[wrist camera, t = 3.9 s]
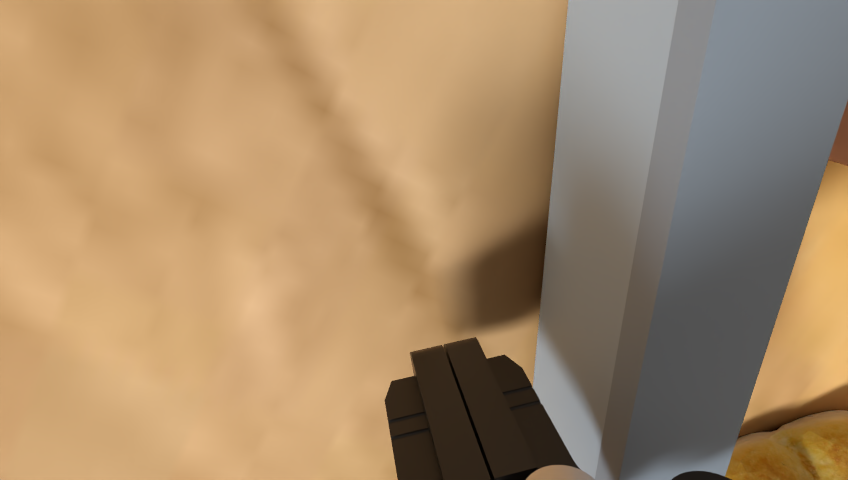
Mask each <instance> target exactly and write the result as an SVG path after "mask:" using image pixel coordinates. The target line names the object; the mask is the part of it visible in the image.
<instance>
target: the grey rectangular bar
mask: <svg viewBox="0 0 848 480" xmlns="http://www.w3.org/2000/svg"><path fill="white" fill-rule="evenodd" d="M847 101H848V0H568V11H567V22H566V33H565V43H564V54H563V65H562V76H561V87H560V98H559V109H558V120H557V130H556V141H555V152H554V163H553V174H552V185H551V196H550V206H549V217H548V228H547V239H546V250H545V261H544V272H543V283H542V293H541V304H540V315H539V326H538V337H537V348H536V359H535V369H534V380H533V389H534V390H535V392H536V394H537V396H538V397H539V399H540V403H541V404H542V405H543V406H544V408H545V410H546V412H547V414H548V415H549V417H550V419H551V421H552V423H553V424H554V426H555V428H556V430H557V432H558V433H559V435H560V437H561V439H562V441H563V442H564V444H565V446H566V448H567V449H568V451H569V453H570V455H571V457H572V458H573V460H574V462H575V463H576V465H577V466H578V467H579V468H580V469H581V470H582V471H584V472H586V473H587V474H589V475H590V476H592V477H593V478H594V479H595V480H672V479H673V478H674V477H675V476H677V475H679V474H681V473H684V472H689V471H707V472H712V473H716V474H719V475H722V476H725V475H726V472H727V469H728V466H729V462H730V459H731V456H732V453H733V450H734V447H735V444H736V441H737V438H738V435H739V432H740V429H741V426H742V423H743V420H744V416H745V413H746V410H747V407H748V404H749V401H750V398H751V395H752V392H753V389H754V386H755V383H756V380H757V377H758V374H759V371H760V367H761V364H762V361H763V358H764V355H765V352H766V349H767V346H768V343H769V340H770V337H771V334H772V331H773V328H774V325H775V321H776V318H777V315H778V312H779V309H780V306H781V303H782V300H783V297H784V294H785V291H786V288H787V285H788V282H789V279H790V275H791V272H792V269H793V266H794V263H795V260H796V257H797V254H798V251H799V248H800V245H801V242H802V239H803V236H804V233H805V229H806V226H807V223H808V220H809V217H810V214H811V211H812V208H813V205H814V202H815V199H816V196H817V193H818V190H819V187H820V183H821V180H822V177H823V174H824V171H825V168H826V165H827V162H828V159H829V156H830V153H831V150H832V147H833V144H834V141H835V138H836V134H837V131H838V128H839V125H840V122H841V119H842V116H843V113H844V110H845V107H846V104H847Z"/></svg>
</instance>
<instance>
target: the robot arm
mask: <svg viewBox="0 0 848 480" xmlns="http://www.w3.org/2000/svg"><path fill="white" fill-rule="evenodd" d="M410 356H411V361H412V367H413V372H414V376H412V377H408V378H403V379H399V380H395V381H392V382H391V384H390V387H389V390H388V393H387V396H386V399H385V405H386V411H387V417H388V422H389V429H390V435H391V440H392V447H393V453H394V459H395V465H396V471H397V477H398V480H595V479H594V478H593V477H592V476H590V475H589V474H587V473H586V472H584V471H582V470H581V469H580V468H579V467H578V466H577V465H576V463H575V462H574V460H573V458H572V457H571V455H570V453H569V451H568V449H567V448H566V446H565V444H564V442H563V441H562V439H561V437H560V435H559V433H558V432H557V430H556V428H555V426H554V424H553V423H552V421H551V419H550V417H549V415H548V414H547V412H546V410H545V408H544V406H543V405H542V404H541V403H540V399H539V397H538V396H537V394H536V392H535V390H534V389H533V388H532V385H531V383H530V381H529V379H528V378H527V376H526V374H525V372H524V370H523V369H522V367H520V366H519V365H518V364H516V363H515V362H514V361H512V360H511V359H509V358H508V357H507V356H505V355H501V356H497V357H493V358H488V359H486V357H485V355H484V352H483V350H482V348H481V346H480V344H479V342H478V340H477V338H476V337H475V338H470V339H466V340H461V341H457V342H453V343H448V344H444V348H443V346H442V345H440V346H436V347H431V348H427V349H423V350H418V351H414V352H410ZM672 480H732V479H729V478H727V477H725V476H722V475H719V474H716V473H712V472H707V471H689V472H684V473H681V474H679V475H677V476H675V477H674V478H673V479H672Z"/></svg>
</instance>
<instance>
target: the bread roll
mask: <svg viewBox="0 0 848 480" xmlns="http://www.w3.org/2000/svg"><path fill="white" fill-rule="evenodd" d="M725 477H727V478H729V479H732V480H848V411H846V410H834V411H826V412H821V413H816V414H812V415H808V416H805V417H802V418H799V419H797V420H794V421H792V422H790V423H787V424H784V425H782V426H781V427H780V428H779V429H778V430H776V431H772V432H757V433H752V434H748V435H745V436H742V437H740V438H737V441H736V444H735V447H734V450H733V453H732V456H731V459H730V462H729V466H728V469H727V472H726V475H725Z"/></svg>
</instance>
